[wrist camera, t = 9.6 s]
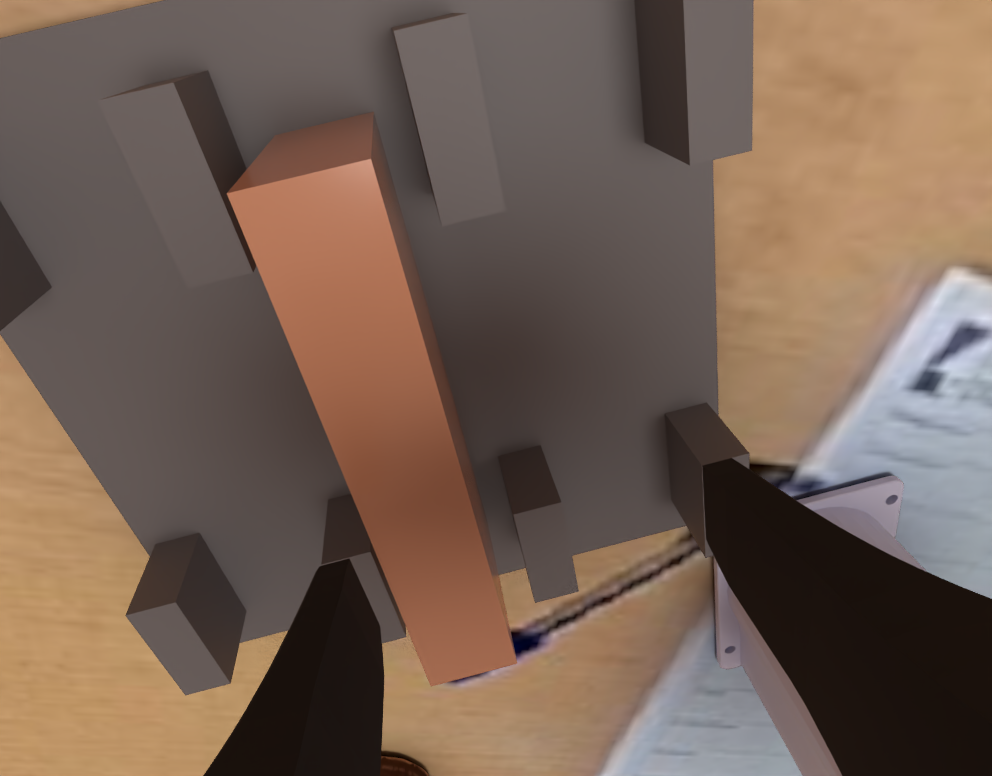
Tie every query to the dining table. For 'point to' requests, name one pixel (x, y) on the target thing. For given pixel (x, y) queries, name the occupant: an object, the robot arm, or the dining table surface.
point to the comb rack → (439, 259)
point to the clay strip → (378, 381)
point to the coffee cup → (400, 767)
